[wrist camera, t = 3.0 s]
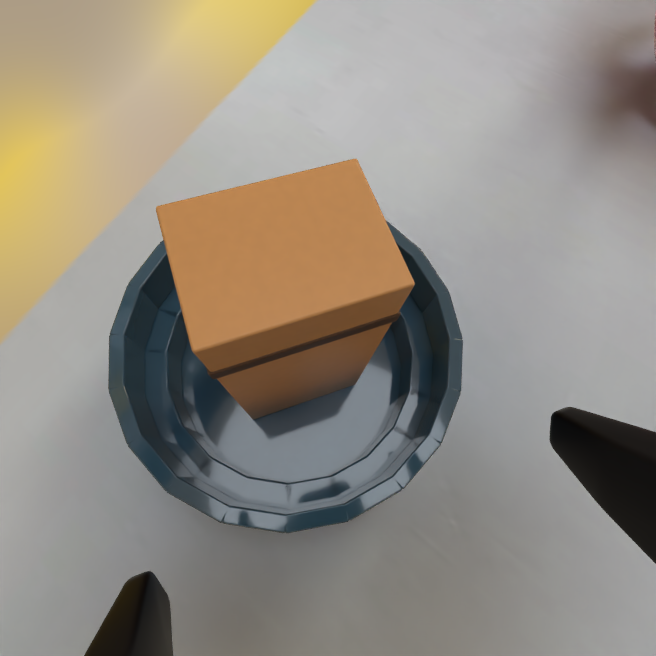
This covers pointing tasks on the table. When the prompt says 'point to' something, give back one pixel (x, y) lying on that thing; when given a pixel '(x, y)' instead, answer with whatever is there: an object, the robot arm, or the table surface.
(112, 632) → the robot arm
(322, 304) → the case
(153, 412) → the bowl
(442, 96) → the table surface
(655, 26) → the pink openwork ball
